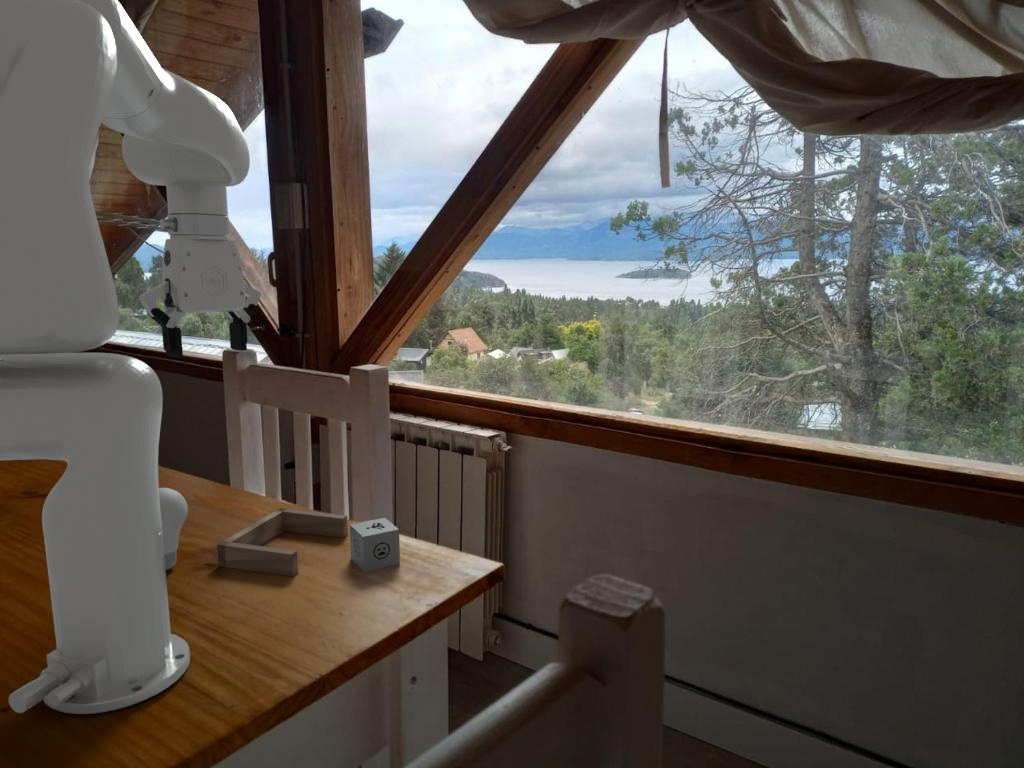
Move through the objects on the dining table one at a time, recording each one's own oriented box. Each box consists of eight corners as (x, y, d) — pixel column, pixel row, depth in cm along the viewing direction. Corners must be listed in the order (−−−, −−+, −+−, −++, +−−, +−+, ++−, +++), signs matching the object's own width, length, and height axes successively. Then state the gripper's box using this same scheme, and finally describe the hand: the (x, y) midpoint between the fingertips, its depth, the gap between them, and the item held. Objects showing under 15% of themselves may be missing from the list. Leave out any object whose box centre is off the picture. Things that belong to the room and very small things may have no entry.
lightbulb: (182, 555, 96) (175, 478, 94) (199, 569, 92) (193, 489, 90) (133, 569, 92) (126, 488, 90) (149, 584, 87) (141, 500, 85)
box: (293, 576, 90) (291, 554, 89) (218, 565, 93) (217, 544, 92) (347, 534, 103) (347, 515, 103) (281, 526, 106) (280, 508, 106)
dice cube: (399, 564, 94) (399, 529, 93) (364, 573, 91) (363, 536, 90) (385, 551, 98) (384, 517, 97) (350, 559, 95) (349, 524, 94)
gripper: (150, 225, 87) (160, 361, 90) (270, 231, 101) (276, 349, 104) (121, 227, 92) (132, 357, 94) (240, 232, 105) (247, 345, 108)
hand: (207, 353), depth 99 cm, fingers open, 9 cm apart
